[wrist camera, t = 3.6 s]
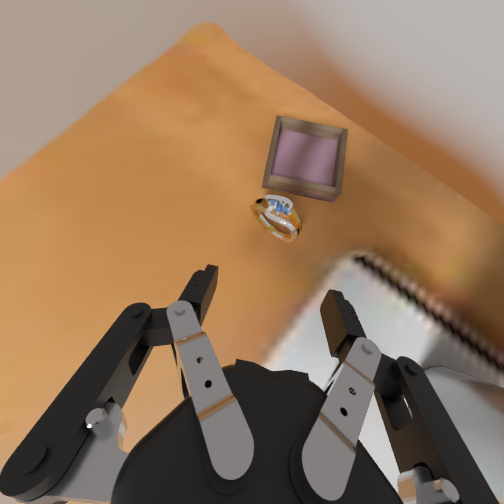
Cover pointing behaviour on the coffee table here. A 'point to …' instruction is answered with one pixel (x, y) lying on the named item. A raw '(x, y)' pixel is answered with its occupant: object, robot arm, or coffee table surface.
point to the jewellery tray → (306, 159)
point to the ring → (277, 216)
